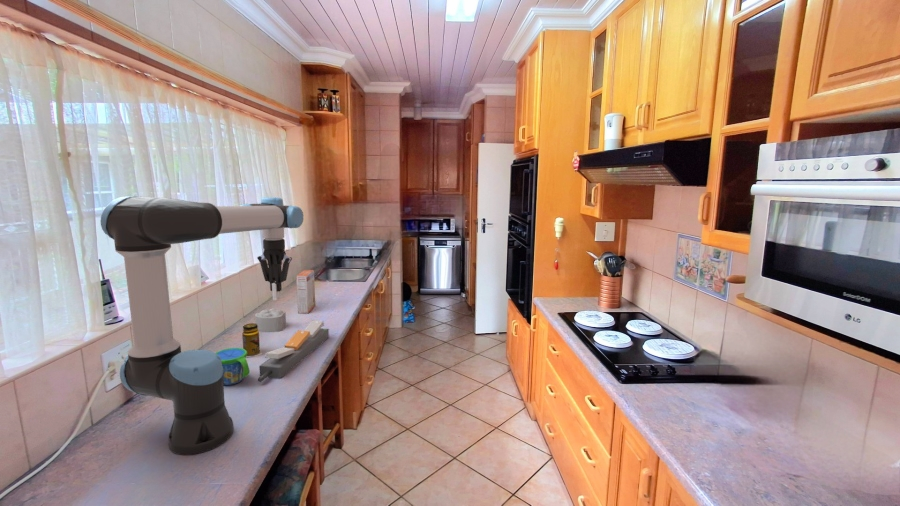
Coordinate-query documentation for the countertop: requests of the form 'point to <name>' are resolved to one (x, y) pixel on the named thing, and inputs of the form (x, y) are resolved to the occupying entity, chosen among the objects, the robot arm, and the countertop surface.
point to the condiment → (251, 340)
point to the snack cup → (234, 365)
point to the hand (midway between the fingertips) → (276, 299)
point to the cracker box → (305, 291)
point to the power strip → (291, 357)
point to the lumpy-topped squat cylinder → (270, 320)
